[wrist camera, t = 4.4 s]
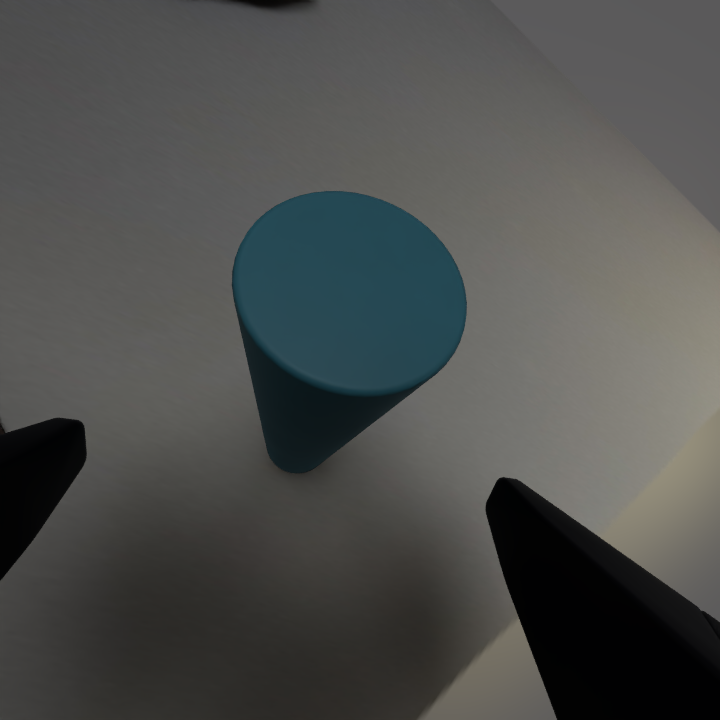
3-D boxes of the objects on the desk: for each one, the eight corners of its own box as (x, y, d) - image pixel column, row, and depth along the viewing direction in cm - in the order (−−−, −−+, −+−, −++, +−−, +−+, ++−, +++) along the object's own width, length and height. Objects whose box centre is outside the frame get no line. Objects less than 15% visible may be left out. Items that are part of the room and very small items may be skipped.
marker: (337, 449, 16) (511, 310, 4) (290, 488, 15) (341, 454, 3) (303, 404, 17) (370, 162, 5) (255, 439, 16) (177, 240, 4)
